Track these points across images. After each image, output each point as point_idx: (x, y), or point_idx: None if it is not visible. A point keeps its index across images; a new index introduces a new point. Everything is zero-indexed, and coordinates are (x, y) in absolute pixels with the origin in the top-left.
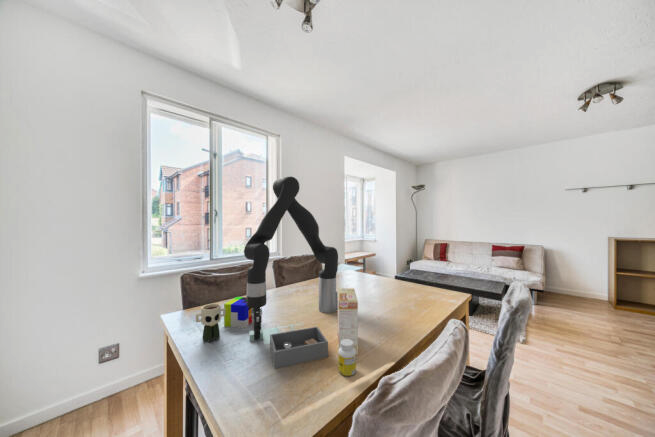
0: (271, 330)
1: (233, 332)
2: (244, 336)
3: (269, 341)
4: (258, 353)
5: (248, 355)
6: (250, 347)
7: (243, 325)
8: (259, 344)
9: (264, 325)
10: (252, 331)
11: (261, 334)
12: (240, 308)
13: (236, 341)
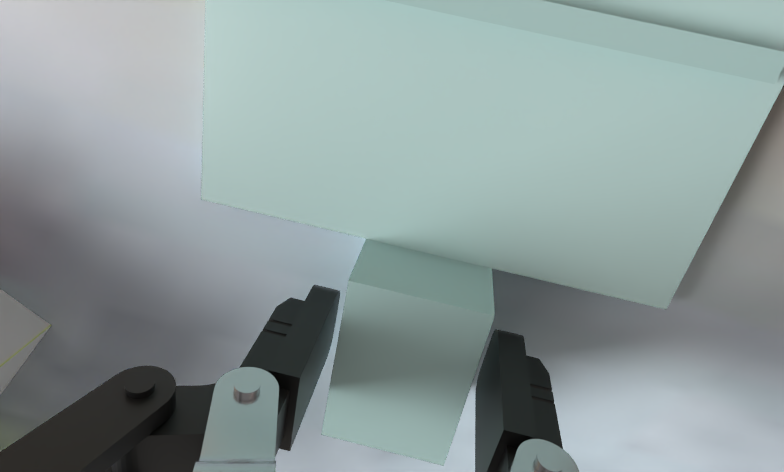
0: (293, 67)
1: None
2: None
3: (637, 222)
4: (750, 387)
5: (699, 465)
6: None
7: (19, 354)
8: (553, 316)
9: (24, 82)
10: (351, 410)
11: (485, 325)
12: None
13: (333, 460)
